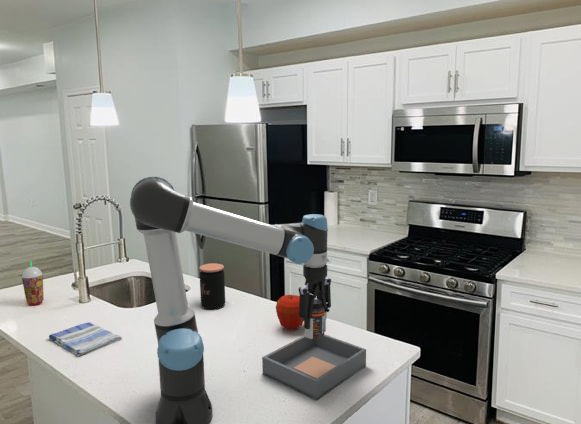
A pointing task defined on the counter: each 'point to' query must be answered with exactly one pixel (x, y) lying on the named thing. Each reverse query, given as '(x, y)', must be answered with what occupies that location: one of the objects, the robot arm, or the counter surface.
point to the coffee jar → (212, 286)
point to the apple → (289, 312)
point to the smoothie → (33, 285)
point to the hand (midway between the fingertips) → (315, 333)
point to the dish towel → (84, 338)
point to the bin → (314, 364)
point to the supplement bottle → (318, 319)
